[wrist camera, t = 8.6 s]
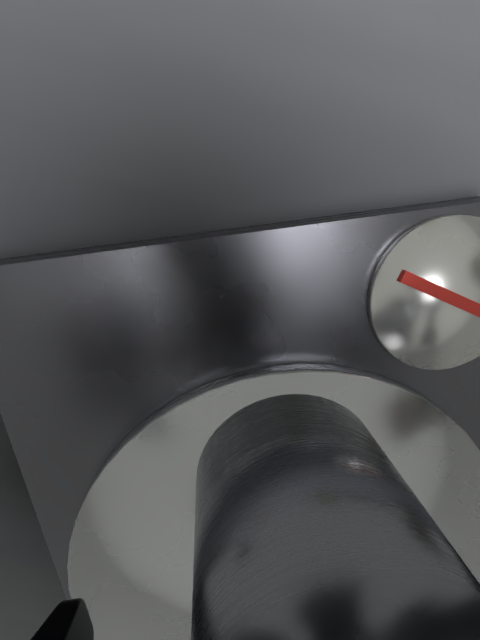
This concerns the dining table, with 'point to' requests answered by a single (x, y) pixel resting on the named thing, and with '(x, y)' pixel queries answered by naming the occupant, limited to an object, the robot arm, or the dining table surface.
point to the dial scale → (232, 381)
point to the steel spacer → (318, 535)
